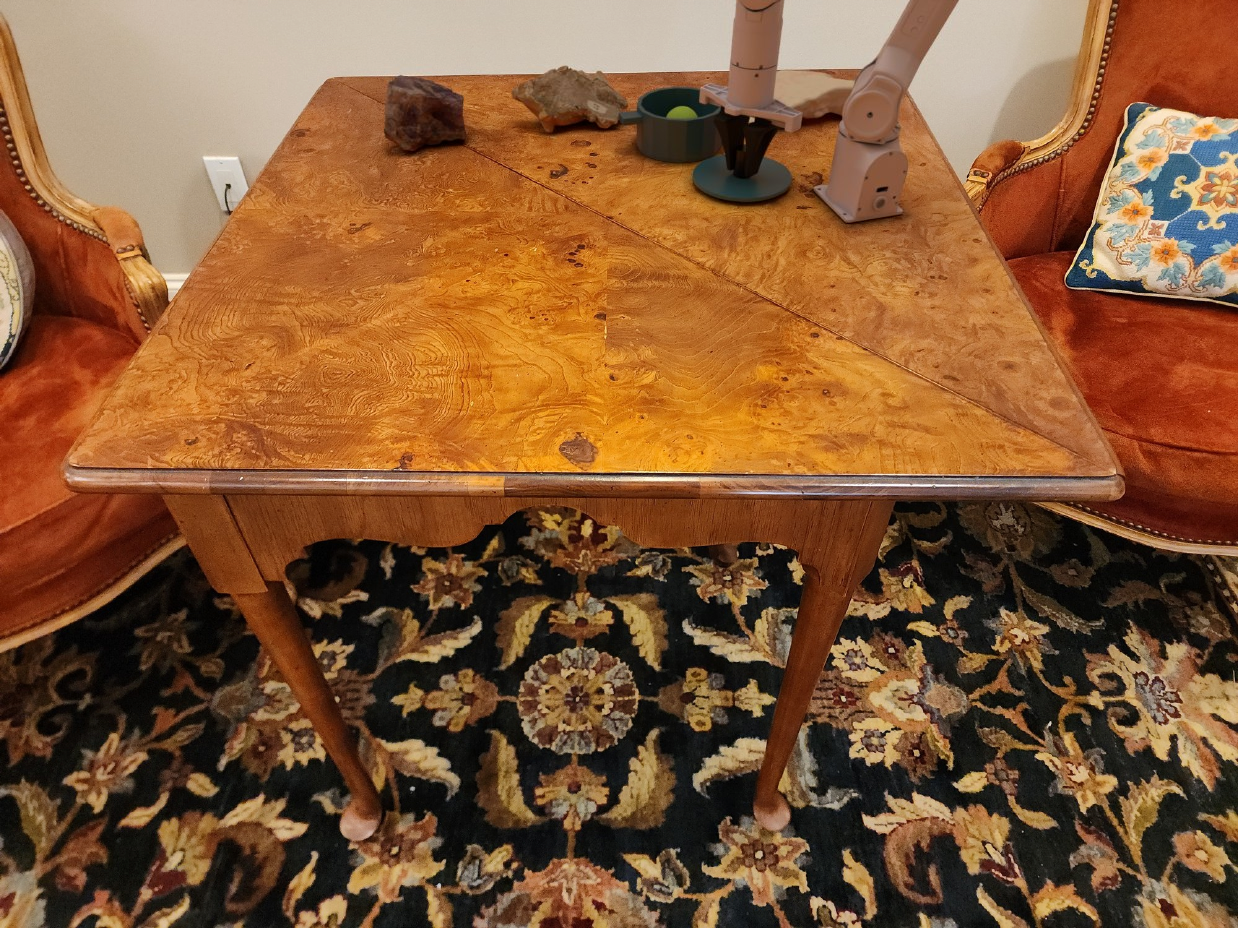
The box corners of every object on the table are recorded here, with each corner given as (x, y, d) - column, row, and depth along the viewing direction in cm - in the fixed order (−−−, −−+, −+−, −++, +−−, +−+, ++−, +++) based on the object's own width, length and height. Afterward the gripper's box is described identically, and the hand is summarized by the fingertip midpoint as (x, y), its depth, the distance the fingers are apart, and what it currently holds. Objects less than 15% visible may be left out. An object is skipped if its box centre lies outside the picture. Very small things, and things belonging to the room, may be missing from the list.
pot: (750, 153, 109) (755, 111, 104) (633, 170, 105) (633, 127, 101) (719, 121, 117) (722, 80, 112) (609, 135, 113) (608, 94, 109)
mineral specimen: (558, 174, 119) (636, 122, 120) (557, 158, 112) (641, 102, 113) (511, 103, 118) (590, 51, 119) (507, 82, 111) (592, 26, 112)
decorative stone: (840, 55, 124) (888, 82, 113) (835, 88, 127) (881, 117, 116) (717, 70, 120) (754, 99, 109) (715, 104, 123) (751, 135, 113)
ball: (700, 150, 110) (707, 117, 106) (667, 152, 109) (673, 118, 105) (689, 131, 113) (695, 98, 109) (657, 133, 111) (662, 100, 107)
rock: (468, 157, 112) (459, 128, 118) (469, 97, 106) (459, 70, 112) (386, 155, 108) (381, 126, 115) (381, 93, 102) (377, 65, 109)
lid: (807, 197, 99) (813, 162, 96) (713, 212, 97) (716, 177, 93) (766, 156, 108) (770, 122, 105) (678, 168, 106) (680, 134, 102)
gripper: (686, 56, 93) (681, 164, 103) (784, 85, 86) (768, 199, 96) (722, 42, 96) (714, 148, 106) (819, 69, 89) (800, 180, 99)
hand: (742, 171), depth 101 cm, fingers closed on lid, 2 cm apart
